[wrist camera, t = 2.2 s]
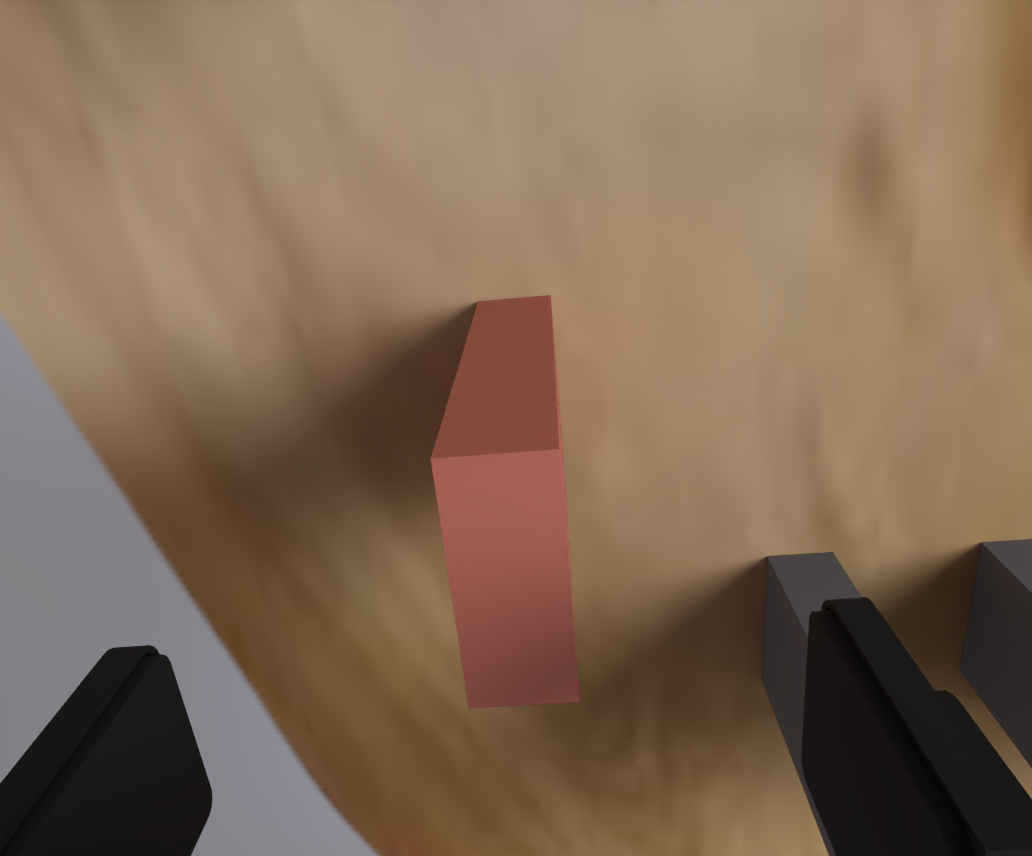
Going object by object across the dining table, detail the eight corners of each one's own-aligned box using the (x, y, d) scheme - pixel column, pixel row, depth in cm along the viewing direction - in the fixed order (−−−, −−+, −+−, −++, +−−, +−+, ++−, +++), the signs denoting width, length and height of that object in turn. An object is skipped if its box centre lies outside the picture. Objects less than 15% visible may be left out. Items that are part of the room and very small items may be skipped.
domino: (832, 552, 24) (1015, 836, 15) (822, 678, 26) (978, 998, 17) (767, 556, 24) (909, 840, 15) (762, 681, 26) (884, 1000, 17)
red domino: (550, 295, 21) (559, 449, 12) (563, 460, 23) (579, 702, 14) (477, 301, 21) (430, 458, 12) (496, 464, 23) (468, 707, 14)
